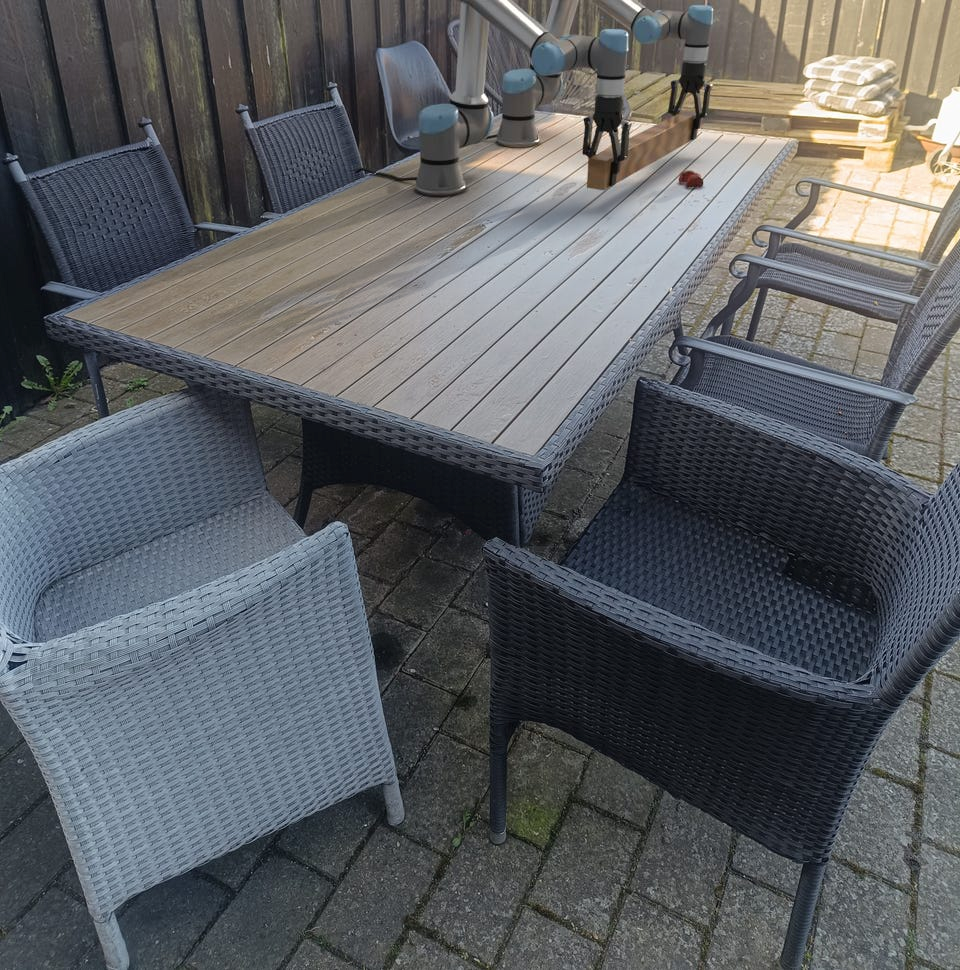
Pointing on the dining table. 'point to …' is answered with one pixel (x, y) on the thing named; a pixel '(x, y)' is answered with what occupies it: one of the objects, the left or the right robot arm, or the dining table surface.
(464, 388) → the dining table surface
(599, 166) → the bar
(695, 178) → the dark red rounded lump
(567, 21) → the right robot arm
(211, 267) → the dining table surface
